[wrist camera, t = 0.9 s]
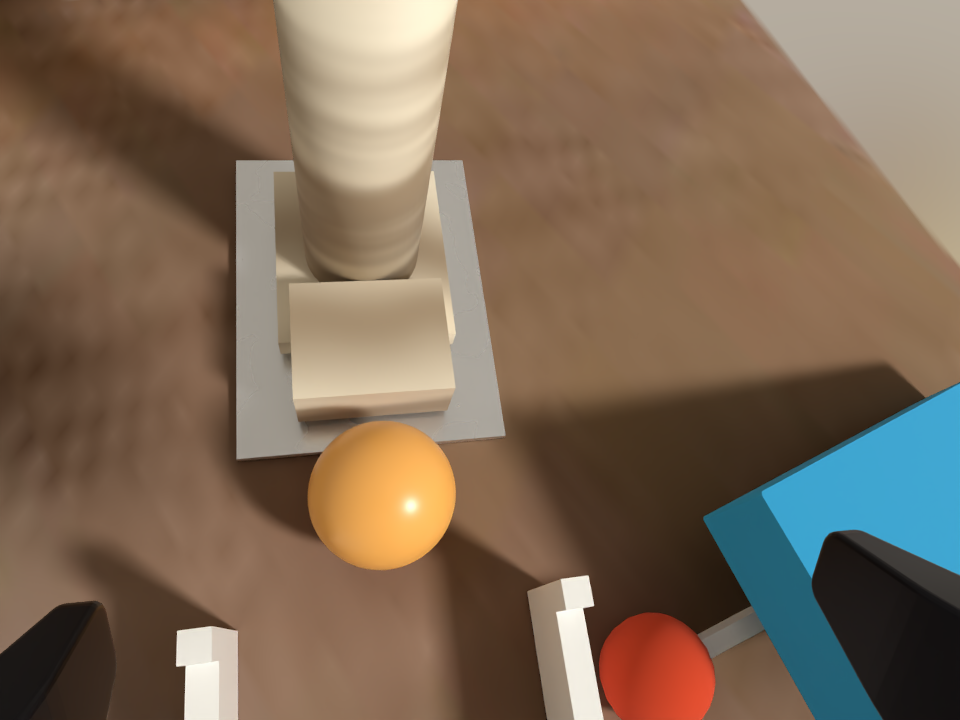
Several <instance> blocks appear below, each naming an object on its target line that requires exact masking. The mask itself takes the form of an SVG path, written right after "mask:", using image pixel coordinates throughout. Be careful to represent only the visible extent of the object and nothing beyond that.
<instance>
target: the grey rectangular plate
mask: <svg viewBox="0 0 960 720" xmlns="http://www.w3.org/2000/svg"><path fill="white" fill-rule="evenodd" d="M431 171H434V177H435V184H436V191H437V199H438V206H439V213H440V221H441V228H442V235H443V243H444V250H445V257H446V265H447V272H448V279H449V287H450V294H451V301H452V309H453V316H454V323H455V331H456V335H455V338H454V341H453V344H450V349H451V357H452V364H453V372H454V379H455V387H456V388H455V391H454V393H453V396H452V399H451V401H450V404H449V407H448V409H447V410H446V411H433V412H420V413H407V414H394V415H381V416H369V417H356V418H343V419H330V420H317V421H304V422H298V418H297V414H296V410H295V406H294V402H293V389H292V360H291V353H289V354H281V353H280V349H279V345H278V320H277V283H276V247H275V210H274V173H273V172H295V169H294V161H293V160H236V418H237V461H249V460H261V459H272V458H284V457H295V456H306V455H318V454H322V452H323V451H324V450H325V448H326V447H327V446H328V445H329V444H330V443H331V442H332V441H333V440H334V439H335V438H336V437H338V436H339V435H340V434H342V433H343V432H345V431H346V430H348V429H351V428H353V427H355V426H357V425H360V424H363V423H368V422H372V421H394V422H400V423H403V424H407V425H410V426H412V427H414V428H417V429H418V430H420V431H422V432H423V433H425V434H426V435H428V436H429V437H430V438H431V439H432V440H433V441H434V442H435V443H436V444H443V443H455V442H466V441H477V440H489V439H500V438H504V437H505V436H506V435H505V429H504V423H503V416H502V410H501V404H500V397H499V391H498V385H497V378H496V372H495V365H494V359H493V353H492V346H491V340H490V334H489V327H488V321H487V315H486V308H485V302H484V295H483V289H482V283H481V276H480V270H479V264H478V257H477V251H476V245H475V238H474V232H473V225H472V219H471V213H470V206H469V200H468V194H467V187H466V181H465V175H464V168H463V162H462V160H433V161H432V168H431Z"/></svg>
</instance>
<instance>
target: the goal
mask: <svg viewBox="0 0 960 720" xmlns="http://www.w3.org/2000/svg"><path fill="white" fill-rule="evenodd" d="M527 594H528V600H529V607H530V613H531V619H532V626H533V632H534V639H535V645H536V652H537V658H538V664H539V671H540V677H541V684H542V690H543V697H544V703H545V709H546V716H547V720H603V714H602V709H601V704H600V698H599V693H598V687H597V682H596V676H595V671H594V665H593V660H592V655H591V649H590V644H589V638H588V633H587V627H586V622H585V616H584V611H583V608H587V607H592V606H594V602H593V597H592V592H591V586H590V581H589V576H580V577H573V578H565V579H560V580H557V581H554V582H551V583H549V584H546V585H543V586H540V587H538V588H535V589H532V590H529V591H527ZM177 666H186V673H185V714H184V720H238V631H235V630H230V629H225V628H219V627H214V626H209V627H202V628H194V629H187V630H179V631H177V654H176V667H177Z"/></svg>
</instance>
